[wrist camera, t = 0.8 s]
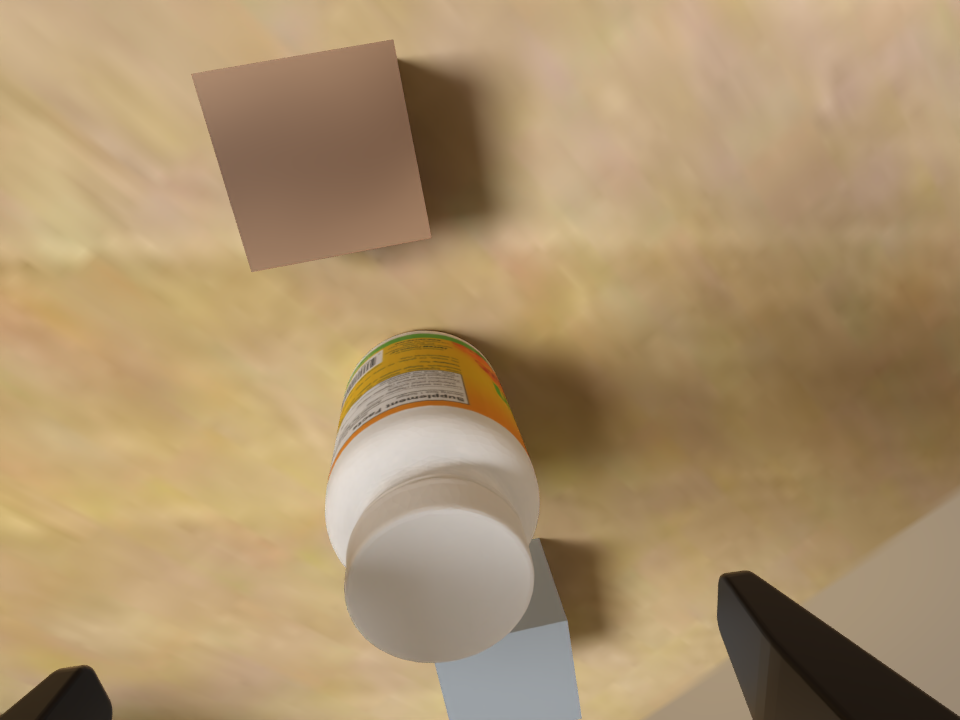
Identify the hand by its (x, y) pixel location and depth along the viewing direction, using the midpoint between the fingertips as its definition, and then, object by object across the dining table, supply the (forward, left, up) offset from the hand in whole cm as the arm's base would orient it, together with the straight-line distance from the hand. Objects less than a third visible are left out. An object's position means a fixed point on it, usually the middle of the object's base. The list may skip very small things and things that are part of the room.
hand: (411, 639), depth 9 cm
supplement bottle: (-2, 0, -13) cm, 14 cm away
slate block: (-11, -1, -13) cm, 17 cm away
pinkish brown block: (+6, +1, -13) cm, 15 cm away
